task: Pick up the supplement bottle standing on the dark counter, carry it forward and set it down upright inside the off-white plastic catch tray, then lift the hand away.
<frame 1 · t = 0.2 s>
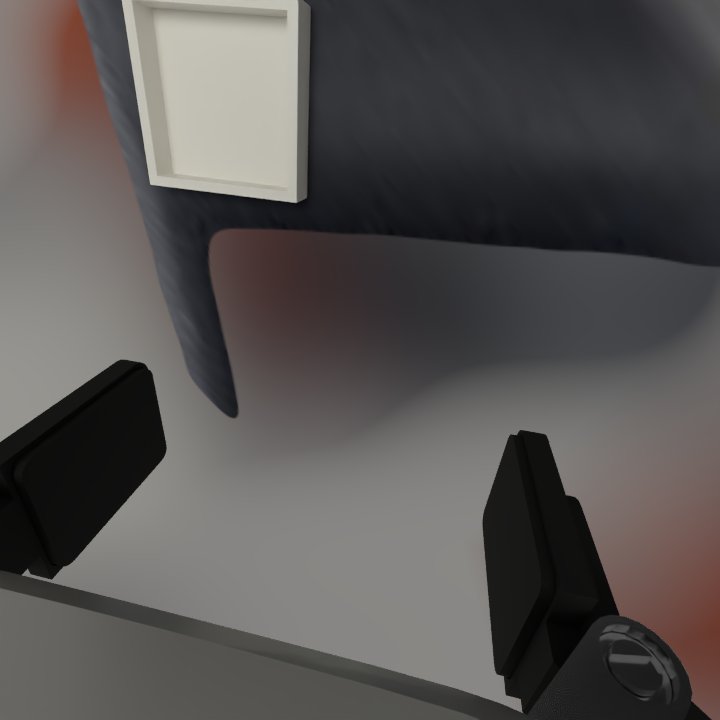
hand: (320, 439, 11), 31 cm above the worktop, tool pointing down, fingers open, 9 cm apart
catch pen: (232, 104, 35), on the worktop
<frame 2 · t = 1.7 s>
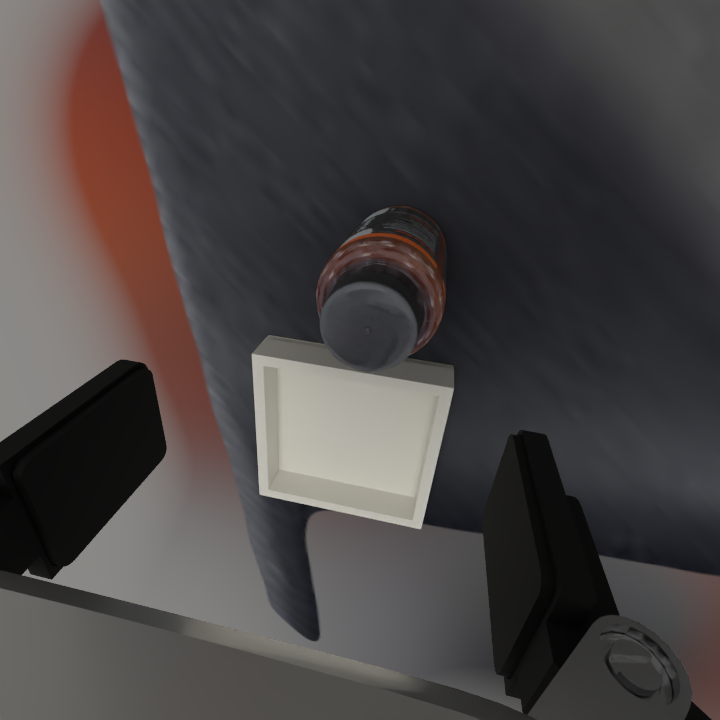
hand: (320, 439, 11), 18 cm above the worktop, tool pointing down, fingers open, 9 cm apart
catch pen: (351, 424, 33), on the worktop
supplement bottle: (399, 253, 26), on the worktop
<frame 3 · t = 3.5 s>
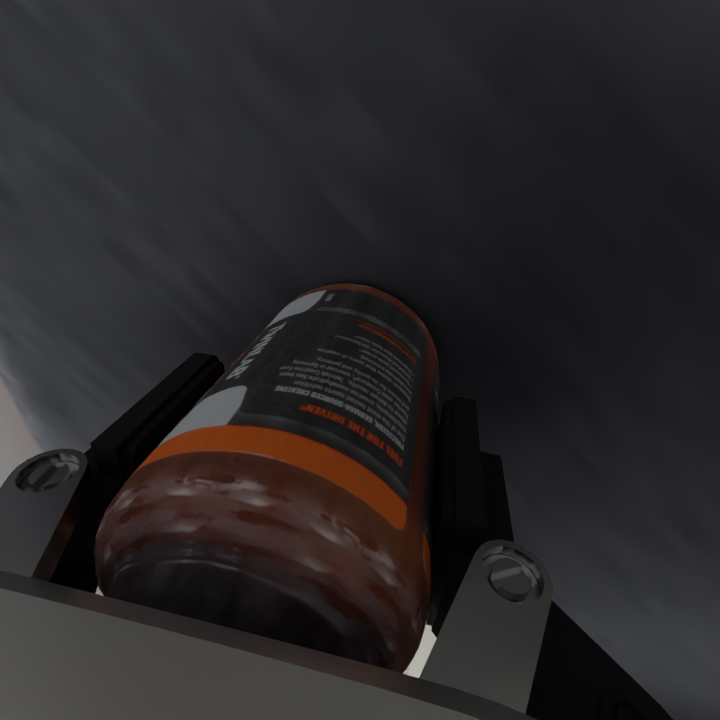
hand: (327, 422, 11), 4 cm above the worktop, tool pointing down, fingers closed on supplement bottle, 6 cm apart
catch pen: (296, 586, 22), on the worktop
supplement bottle: (354, 357, 15), on the worktop, touching gripper
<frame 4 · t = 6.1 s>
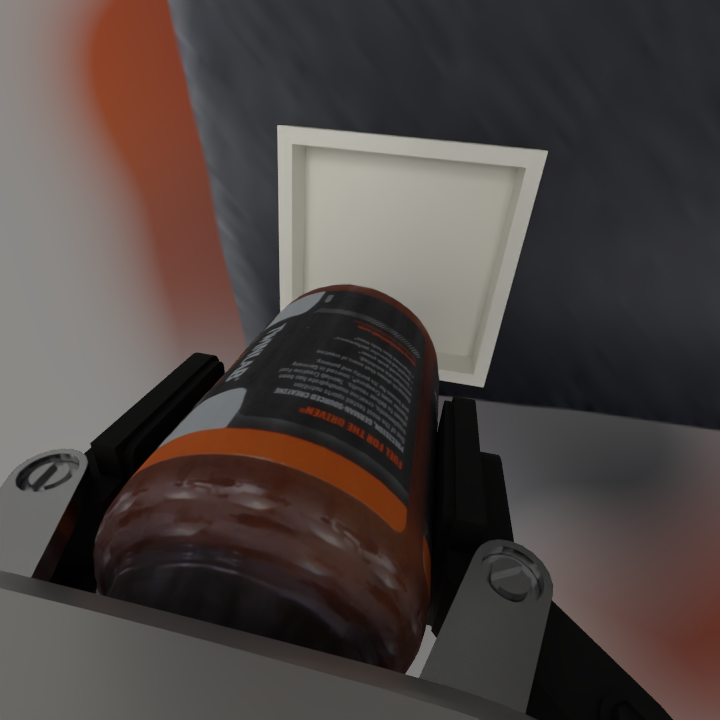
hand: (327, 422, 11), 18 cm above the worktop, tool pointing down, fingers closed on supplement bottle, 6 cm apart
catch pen: (396, 256, 27), on the worktop
supplement bottle: (354, 358, 15), point 14 cm above the worktop, touching gripper
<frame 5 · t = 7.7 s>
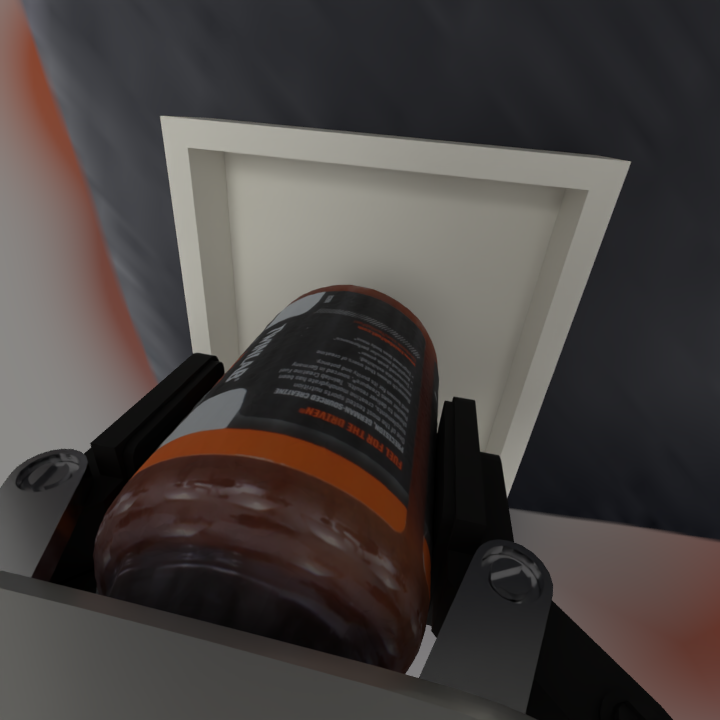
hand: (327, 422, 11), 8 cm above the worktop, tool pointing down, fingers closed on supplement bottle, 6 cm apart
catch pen: (373, 314, 18), on the worktop
supplement bottle: (353, 358, 15), point 4 cm above the worktop, touching gripper
when the fingers open (5 cm above the worktop, at t = 8.8 s): supplement bottle stays where it is, resting on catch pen.
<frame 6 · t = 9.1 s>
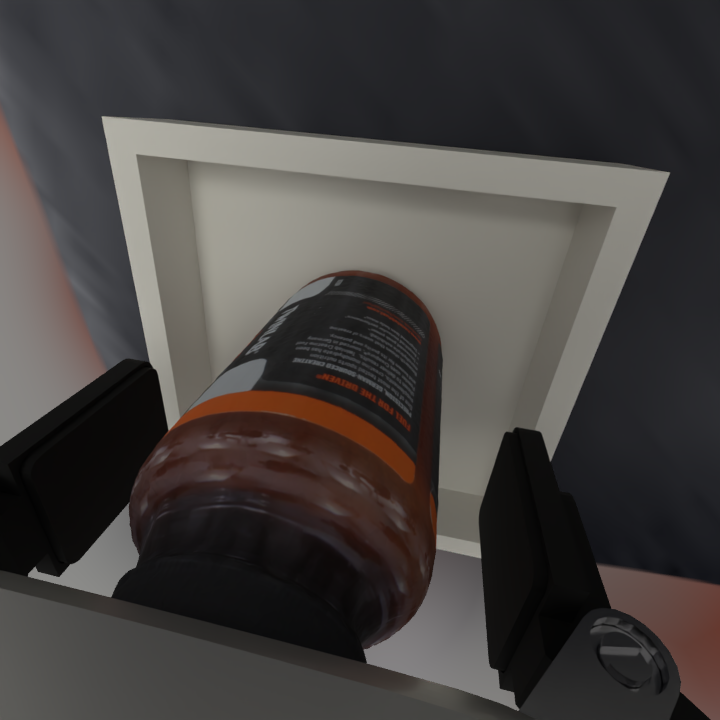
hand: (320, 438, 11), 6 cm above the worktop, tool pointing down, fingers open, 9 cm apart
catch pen: (361, 342, 16), on the worktop
supplement bottle: (360, 342, 15), resting on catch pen
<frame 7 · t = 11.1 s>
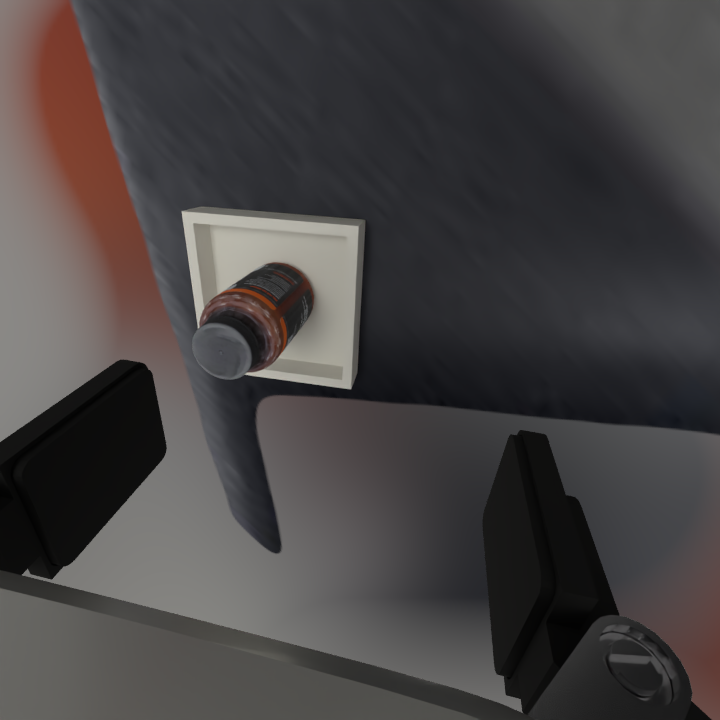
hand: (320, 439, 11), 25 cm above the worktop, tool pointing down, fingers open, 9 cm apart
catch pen: (284, 294, 36), on the worktop
supplement bottle: (283, 294, 36), resting on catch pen
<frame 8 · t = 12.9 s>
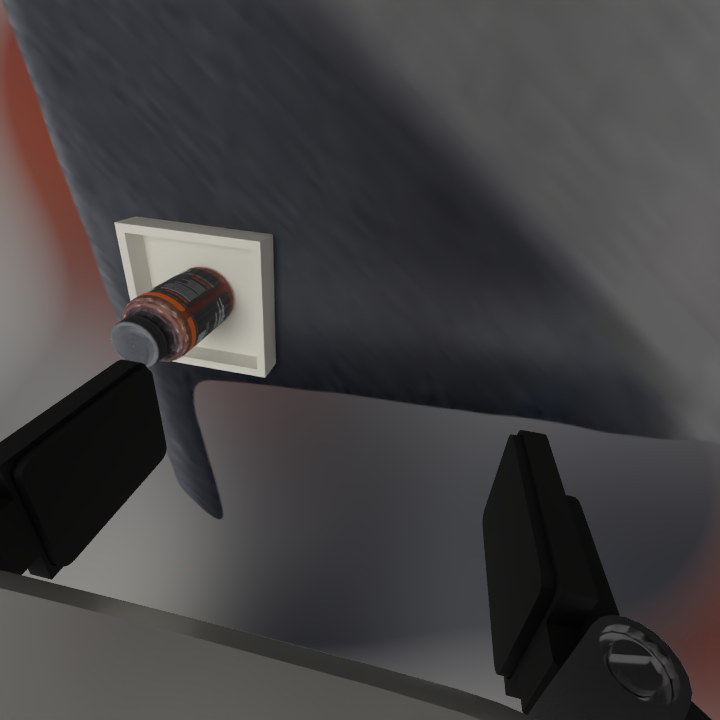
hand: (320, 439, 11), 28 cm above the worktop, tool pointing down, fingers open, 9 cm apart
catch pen: (210, 294, 42), on the worktop
supplement bottle: (208, 294, 41), resting on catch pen
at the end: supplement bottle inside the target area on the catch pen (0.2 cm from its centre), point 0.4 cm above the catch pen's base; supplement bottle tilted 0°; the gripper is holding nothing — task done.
